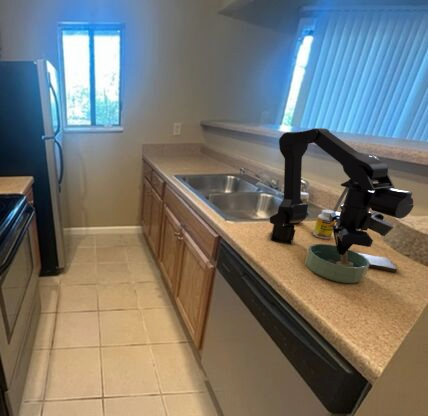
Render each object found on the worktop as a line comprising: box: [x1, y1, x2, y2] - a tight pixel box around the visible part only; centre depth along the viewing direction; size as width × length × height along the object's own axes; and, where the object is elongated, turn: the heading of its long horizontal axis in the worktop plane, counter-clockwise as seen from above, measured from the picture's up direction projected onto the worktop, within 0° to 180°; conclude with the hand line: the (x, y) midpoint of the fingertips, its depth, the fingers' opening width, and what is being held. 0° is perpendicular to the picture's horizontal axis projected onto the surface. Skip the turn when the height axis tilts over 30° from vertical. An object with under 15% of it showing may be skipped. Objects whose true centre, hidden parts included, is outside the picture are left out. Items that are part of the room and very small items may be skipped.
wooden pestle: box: [336, 231, 354, 267], centre depth 83 cm, size 4×4×11 cm
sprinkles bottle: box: [299, 191, 310, 225], centre depth 115 cm, size 5×5×13 cm
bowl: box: [304, 243, 370, 284], centre depth 83 cm, size 14×14×6 cm
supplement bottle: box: [312, 209, 336, 240], centre depth 104 cm, size 6×6×10 cm
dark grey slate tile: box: [358, 252, 398, 273], centre depth 88 cm, size 9×7×1 cm
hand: (340, 253), depth 84 cm, fingers closed on wooden pestle, 2 cm apart
